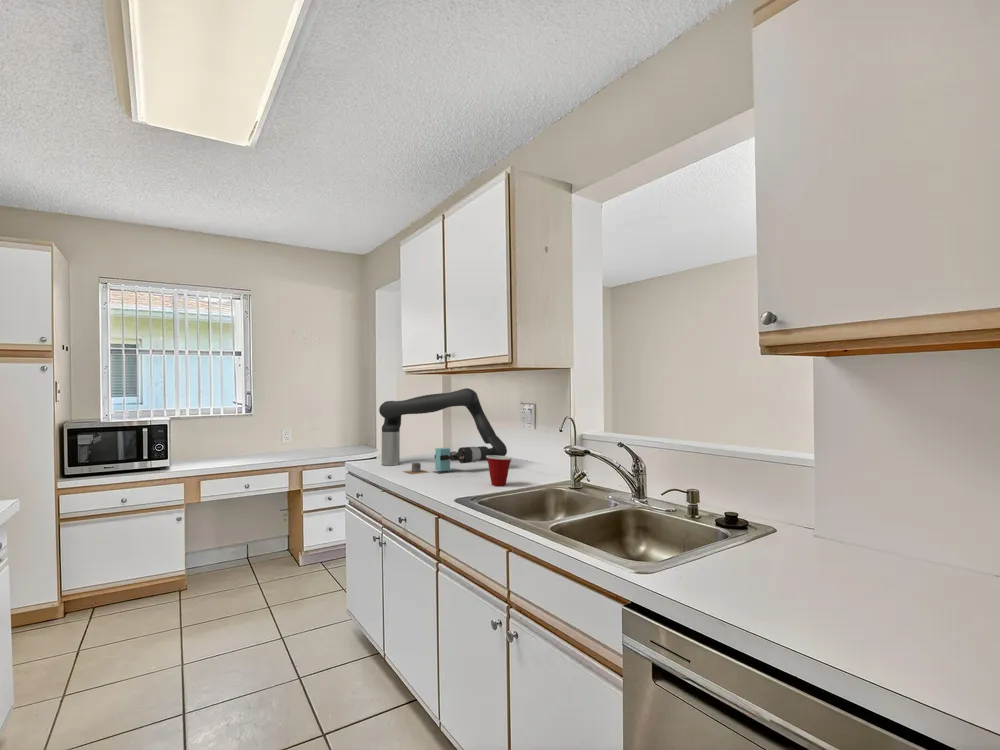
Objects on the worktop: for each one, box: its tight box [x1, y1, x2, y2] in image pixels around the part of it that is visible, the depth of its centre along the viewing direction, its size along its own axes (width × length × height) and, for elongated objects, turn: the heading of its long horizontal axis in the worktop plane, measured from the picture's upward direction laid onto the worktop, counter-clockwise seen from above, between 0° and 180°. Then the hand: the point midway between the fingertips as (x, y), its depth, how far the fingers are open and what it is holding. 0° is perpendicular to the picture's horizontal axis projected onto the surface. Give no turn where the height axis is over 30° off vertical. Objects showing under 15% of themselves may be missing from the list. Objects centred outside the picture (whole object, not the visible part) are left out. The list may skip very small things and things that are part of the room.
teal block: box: [434, 447, 451, 471], centre depth 242 cm, size 5×5×10 cm
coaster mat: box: [432, 470, 455, 475], centre depth 241 cm, size 8×8×1 cm
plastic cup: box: [486, 455, 513, 487], centre depth 214 cm, size 11×11×12 cm
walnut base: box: [402, 462, 431, 475], centre depth 242 cm, size 10×10×5 cm
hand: (437, 457), depth 240 cm, fingers closed on teal block, 4 cm apart
